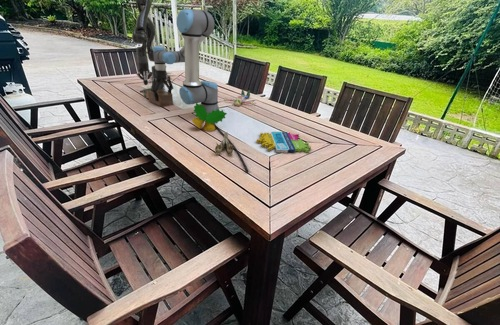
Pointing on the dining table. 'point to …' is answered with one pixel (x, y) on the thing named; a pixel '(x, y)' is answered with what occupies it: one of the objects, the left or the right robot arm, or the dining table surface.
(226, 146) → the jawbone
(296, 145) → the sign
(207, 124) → the ornament
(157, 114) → the dining table surface
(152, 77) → the airplane
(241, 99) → the toy
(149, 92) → the cabinet
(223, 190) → the dining table surface
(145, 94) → the drawer
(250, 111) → the dining table surface
